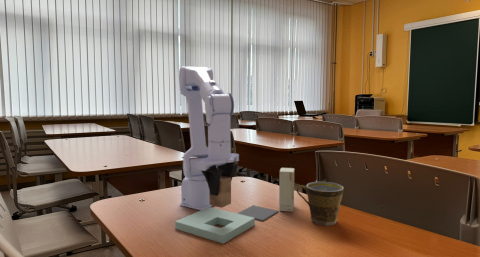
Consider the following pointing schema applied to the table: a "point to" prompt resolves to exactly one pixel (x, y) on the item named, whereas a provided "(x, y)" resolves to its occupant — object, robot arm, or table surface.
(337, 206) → the ceramic cup
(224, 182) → the walnut block
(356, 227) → the table surface
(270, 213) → the rubber mat
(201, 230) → the pocket board
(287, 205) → the skincare box
